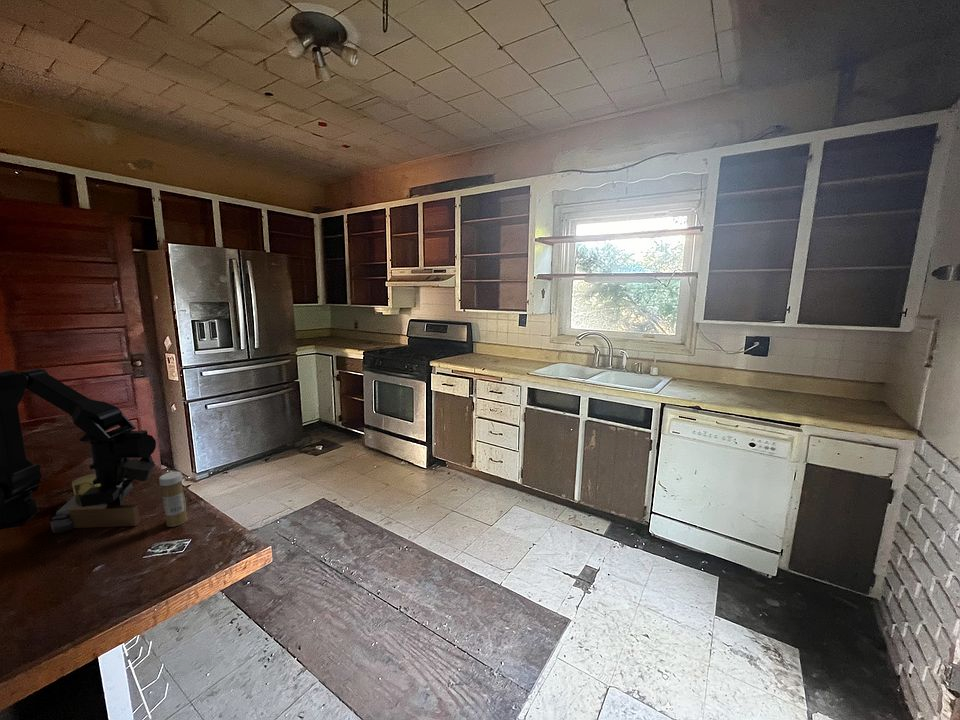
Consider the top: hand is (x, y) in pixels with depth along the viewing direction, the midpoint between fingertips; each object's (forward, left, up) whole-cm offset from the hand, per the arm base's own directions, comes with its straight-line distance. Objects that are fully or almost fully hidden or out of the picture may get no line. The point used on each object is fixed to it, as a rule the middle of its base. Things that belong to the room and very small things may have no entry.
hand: (118, 511), depth 104 cm
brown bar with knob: (-4, -2, -2) cm, 5 cm away
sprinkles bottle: (+14, -7, -3) cm, 16 cm away
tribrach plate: (-10, +13, -3) cm, 17 cm away
